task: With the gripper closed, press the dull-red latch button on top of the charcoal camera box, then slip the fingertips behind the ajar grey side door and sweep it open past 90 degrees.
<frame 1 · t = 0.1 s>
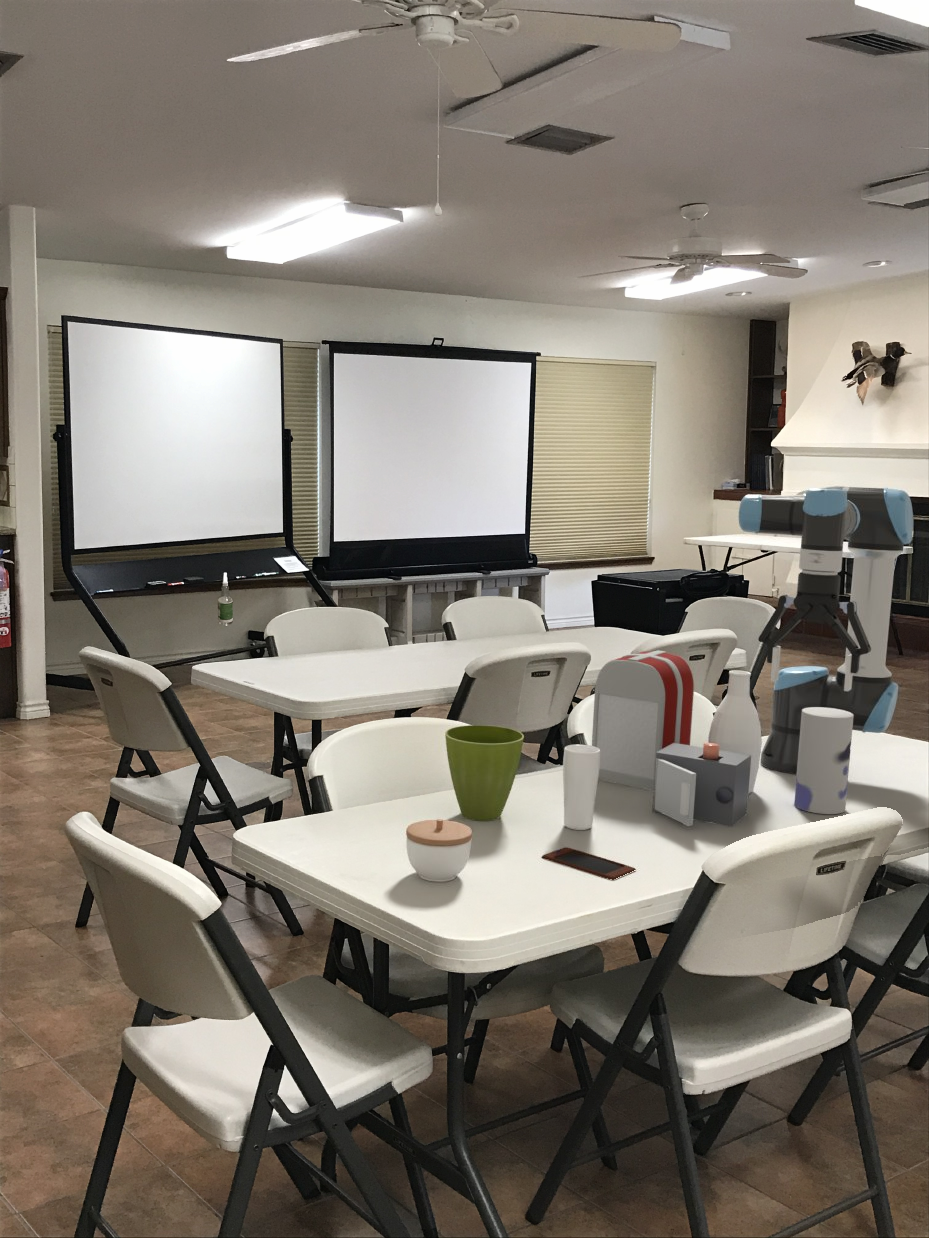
hand: (810, 685, 223), 28 cm above the table, fingers open, 13 cm apart
bottle: (731, 790, 253), on the table
side door: (672, 791, 228), point 6 cm above the table, hinge at 35.0°
smartphone: (588, 867, 203), on the table
lidded jar: (437, 876, 194), on the table
flower pot: (480, 816, 227), on the table
latch button: (710, 751, 231), point 13 cm above the table, slide at 0.0 cm
container: (819, 808, 243), on the table
drinking glass: (577, 827, 223), on the table
camera box: (699, 812, 235), on the table
striped box: (639, 776, 261), on the table
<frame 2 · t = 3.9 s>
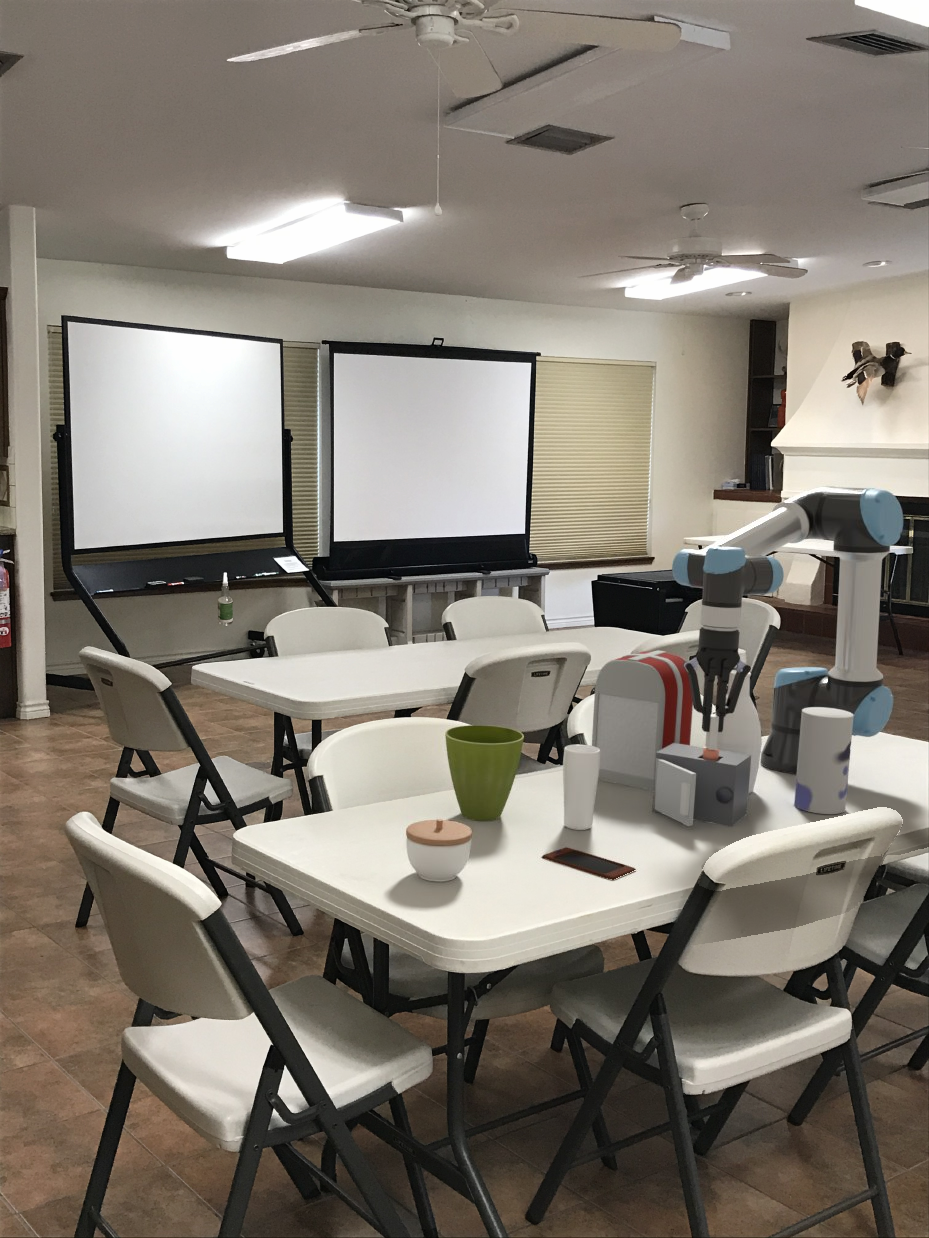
hand: (710, 748, 231), 14 cm above the table, fingers closed
latch button: (710, 755, 231), point 12 cm above the table, slide at 0.9 cm, touching gripper
everything else where it was.
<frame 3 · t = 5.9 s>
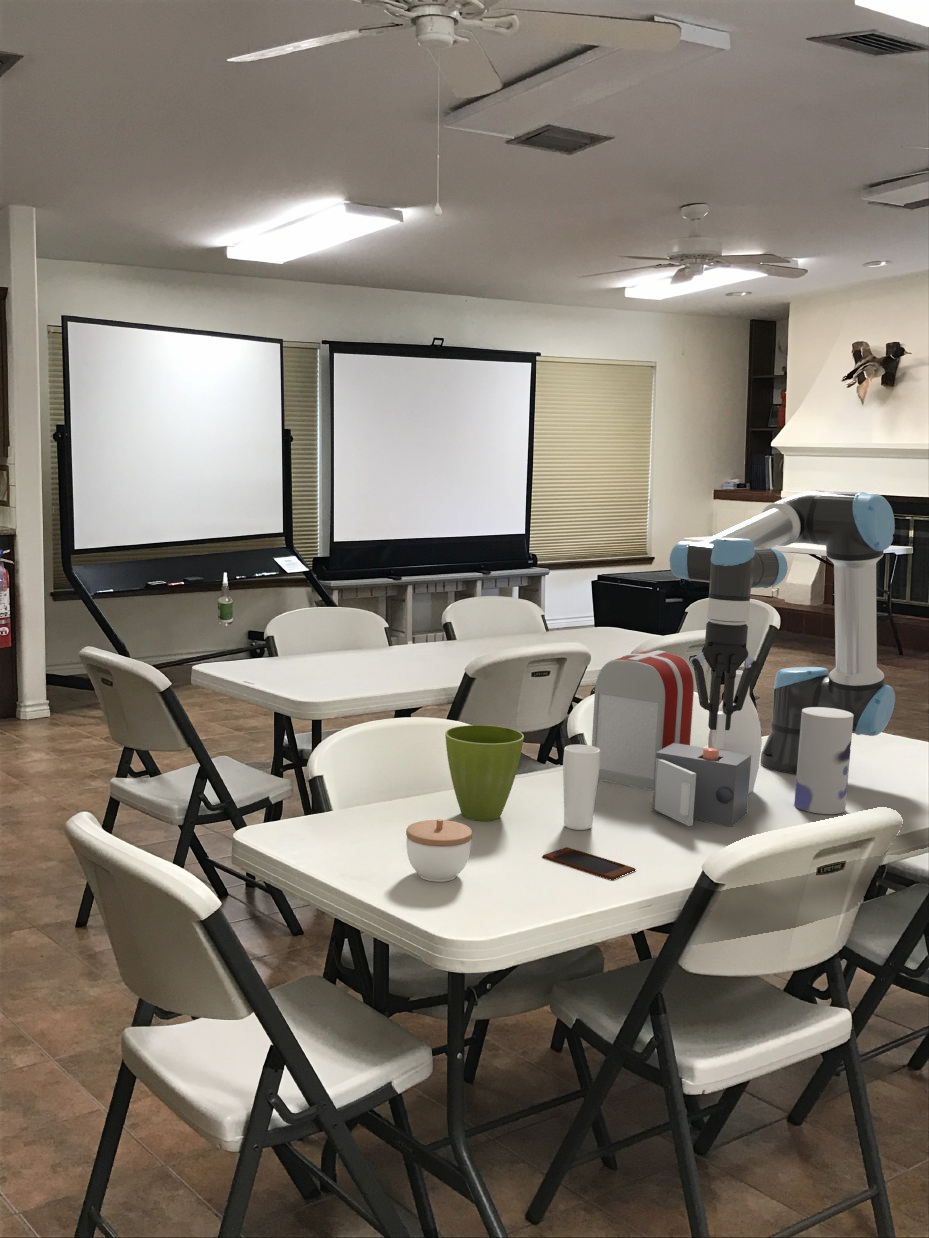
hand: (717, 746, 222), 16 cm above the table, fingers closed
latch button: (710, 755, 231), point 12 cm above the table, slide at 1.0 cm
everything else where it was.
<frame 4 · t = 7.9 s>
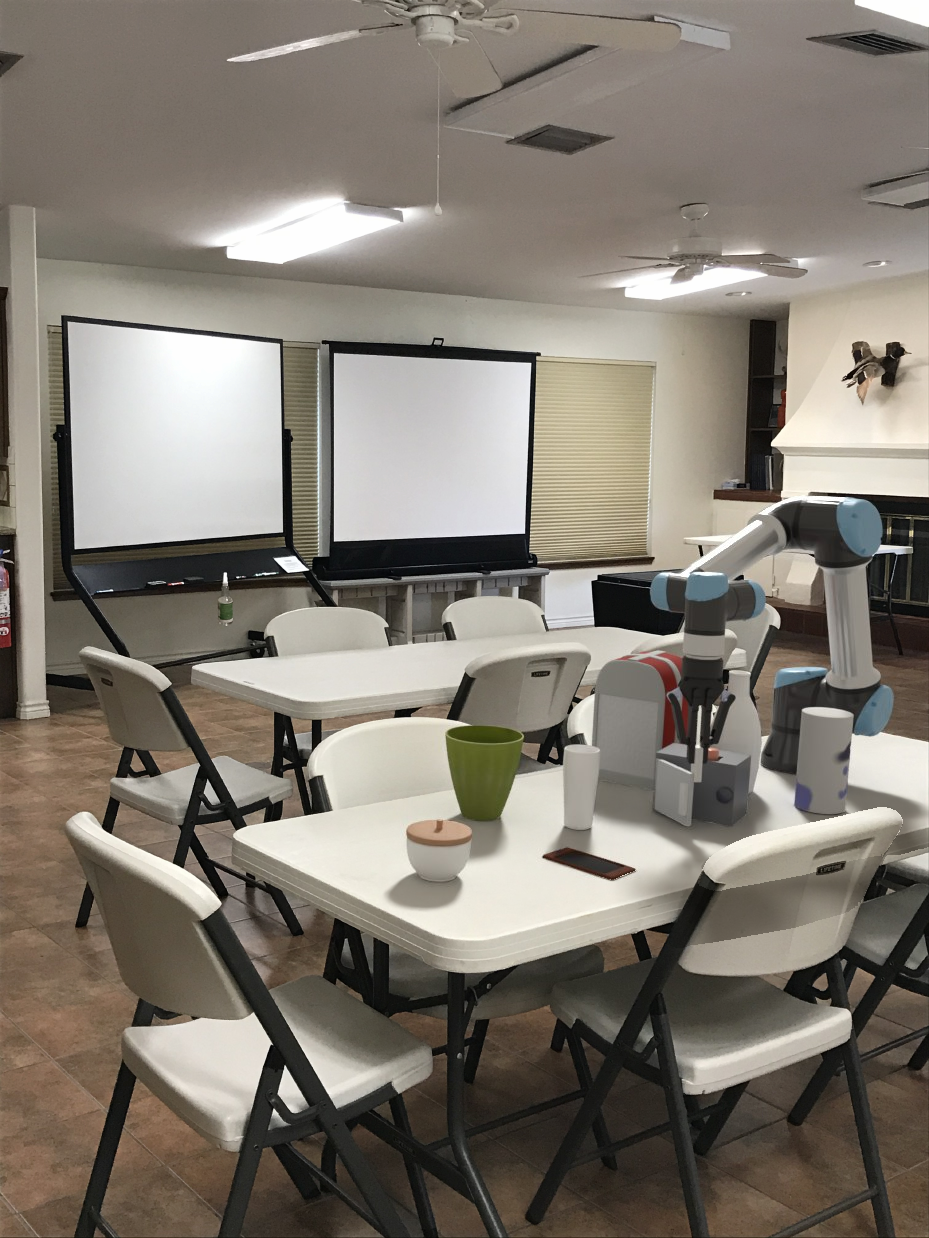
hand: (695, 780, 223), 10 cm above the table, fingers closed
side door: (671, 791, 228), point 6 cm above the table, hinge at 37.2°, touching gripper
everything else where it was.
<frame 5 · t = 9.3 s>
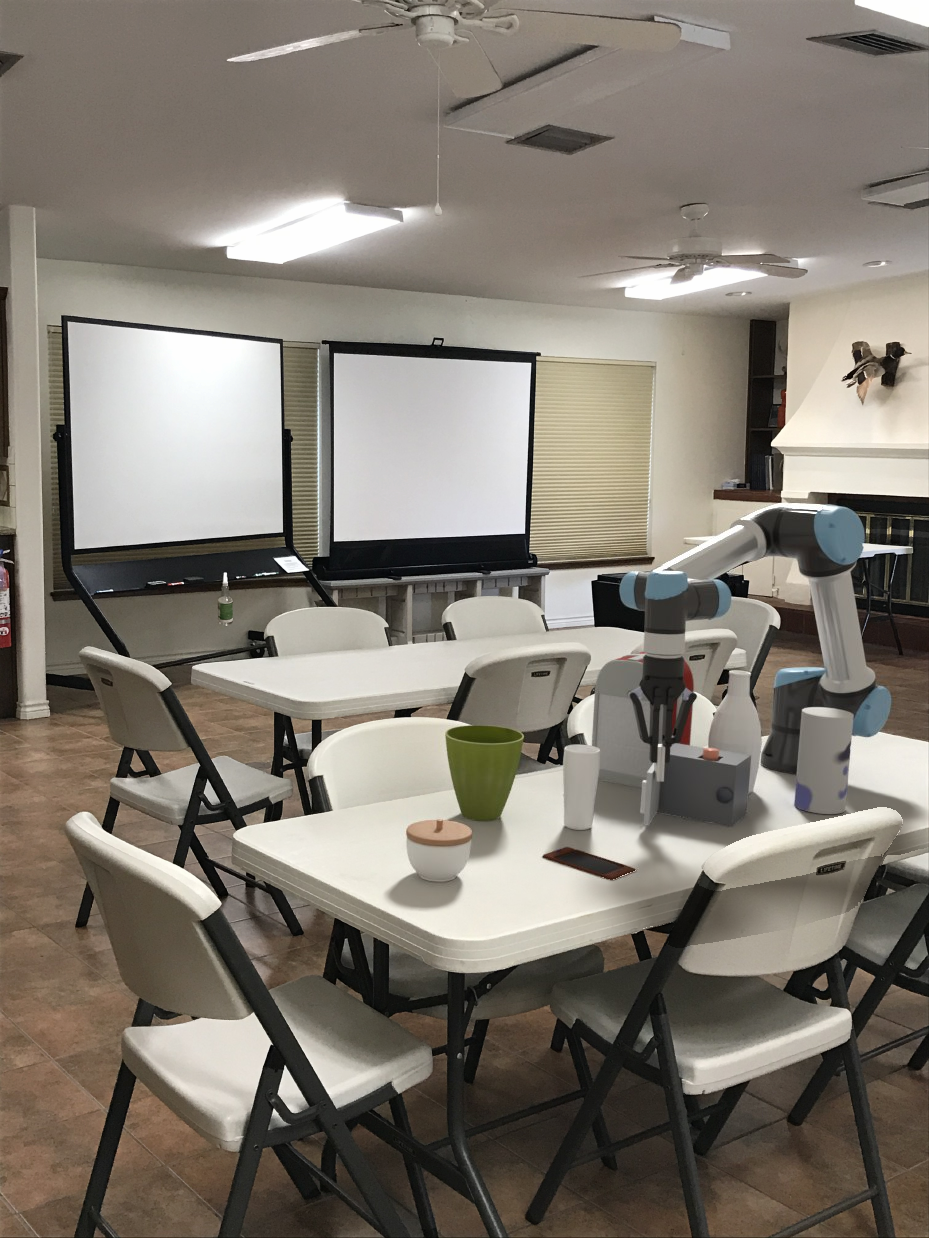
hand: (658, 779, 223), 10 cm above the table, fingers closed
side door: (651, 790, 228), point 6 cm above the table, hinge at 78.7°, touching gripper
everything else where it was.
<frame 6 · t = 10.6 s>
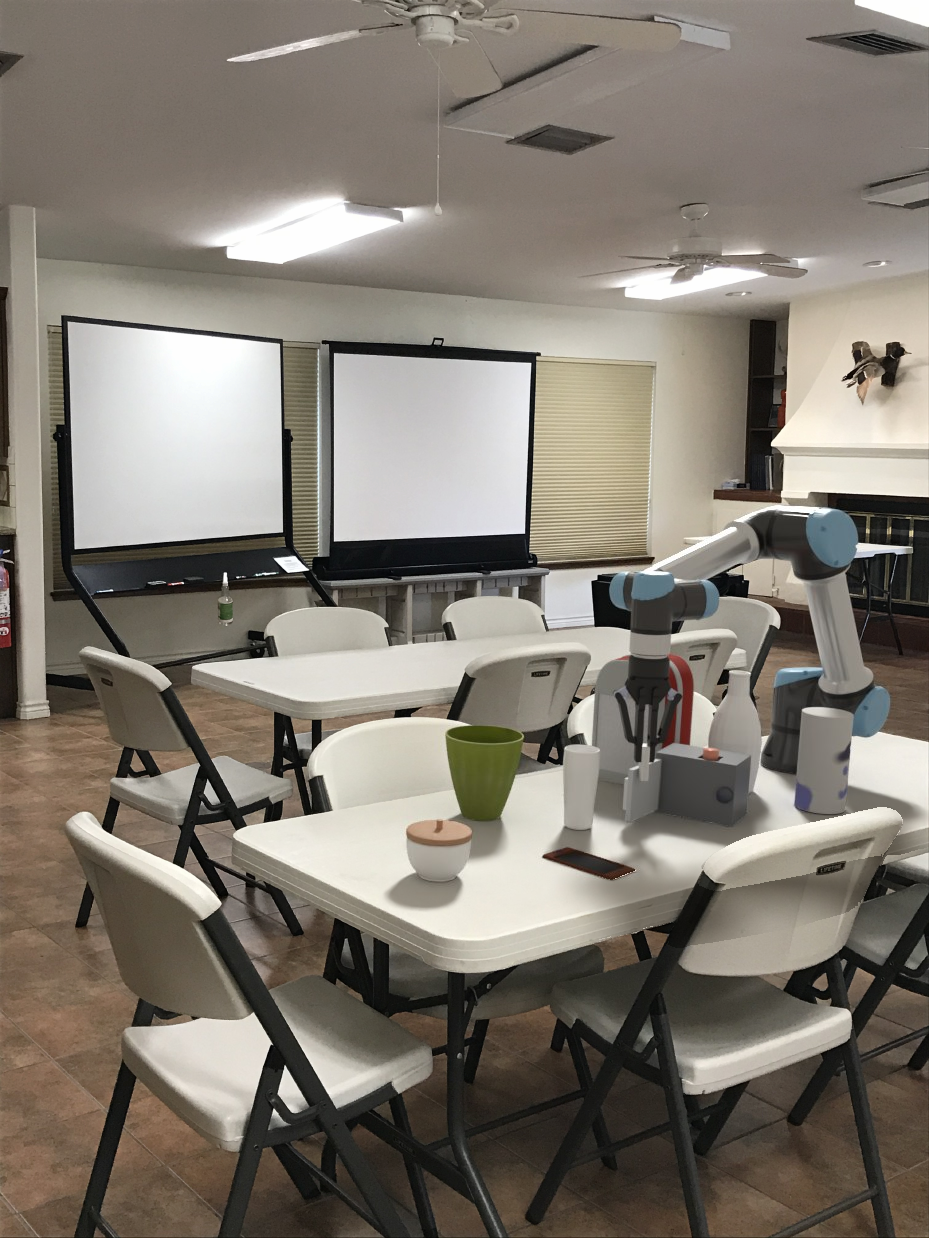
hand: (643, 778, 224), 9 cm above the table, fingers closed
side door: (642, 788, 229), point 6 cm above the table, hinge at 97.4°, touching gripper
everything else where it was.
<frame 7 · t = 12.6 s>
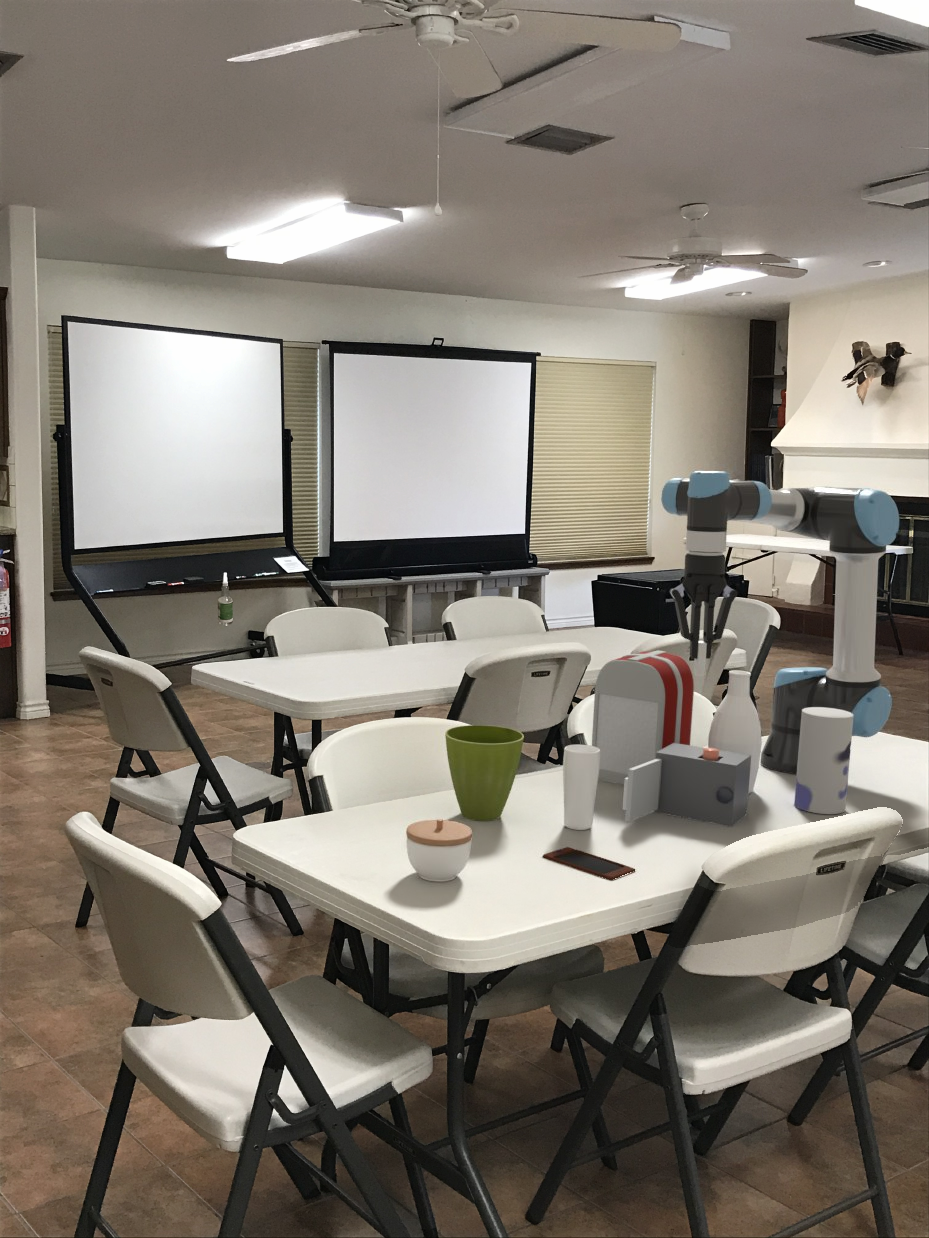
hand: (699, 675, 229), 28 cm above the table, fingers closed
side door: (642, 788, 229), point 6 cm above the table, hinge at 97.4°
everything else where it was.
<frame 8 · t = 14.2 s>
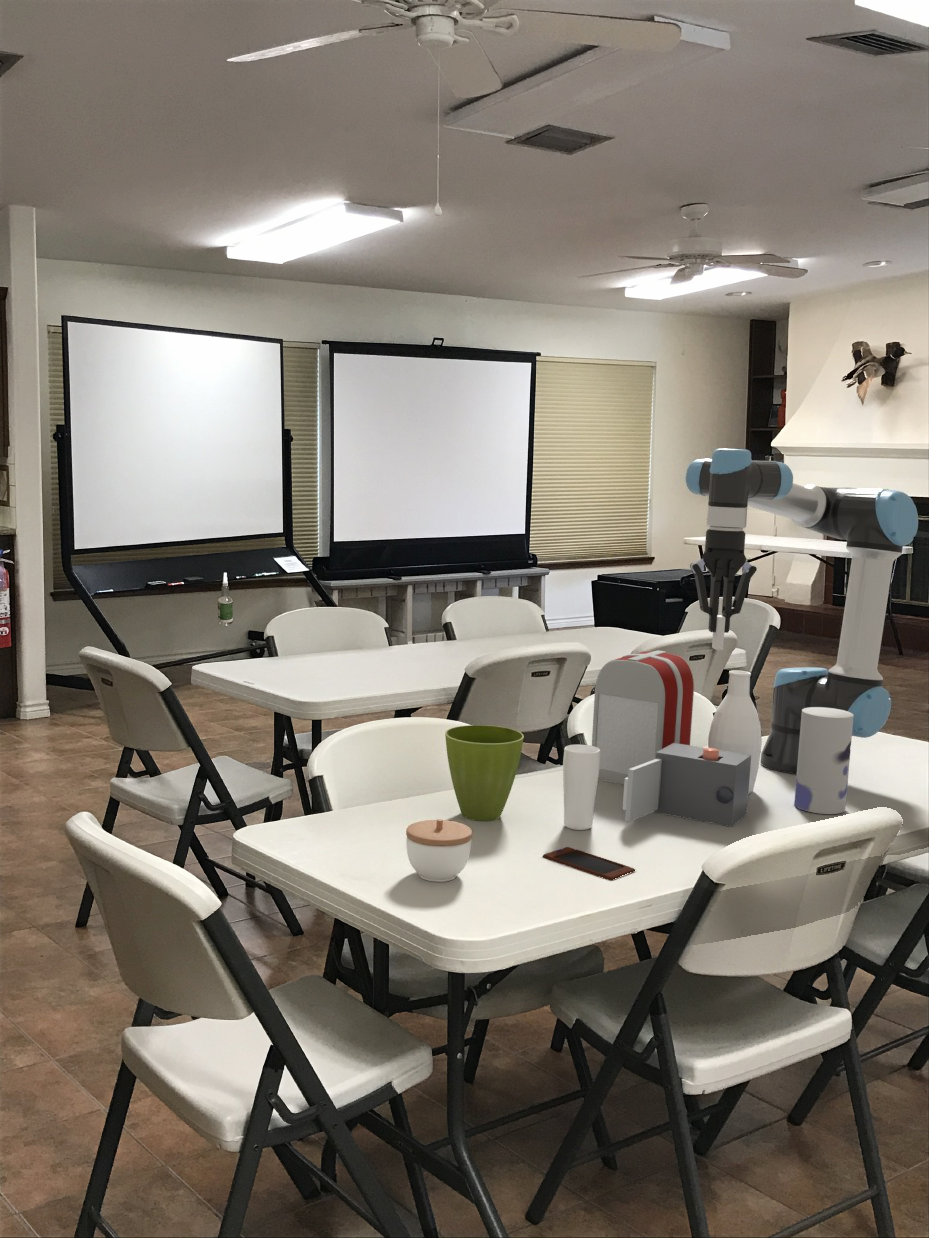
hand: (717, 648, 234), 32 cm above the table, fingers closed
nothing on the table moved.
at the end: side door at +97° (first picture: +35°); latch button slide at 1.0 cm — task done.
